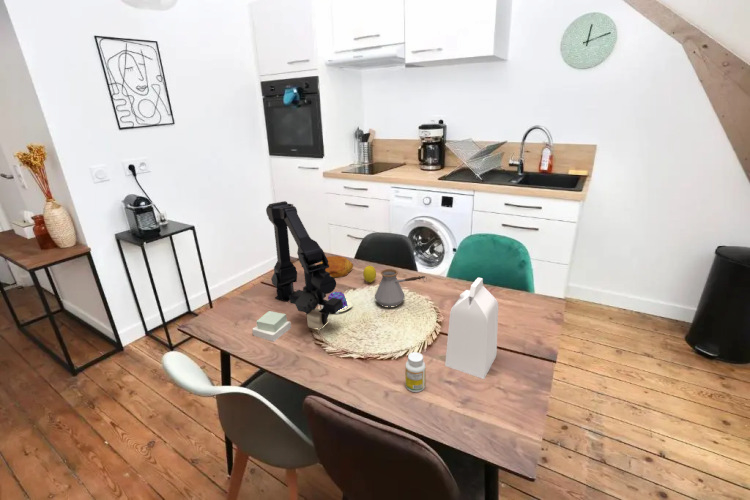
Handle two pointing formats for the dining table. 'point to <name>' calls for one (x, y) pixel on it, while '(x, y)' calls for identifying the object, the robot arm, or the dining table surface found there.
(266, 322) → the sage green block
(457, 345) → the milk
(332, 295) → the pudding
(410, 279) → the coffee pot
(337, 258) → the croissant
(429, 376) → the dining table surface
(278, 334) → the base block
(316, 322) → the birch cube
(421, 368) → the supplement bottle
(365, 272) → the lemon
